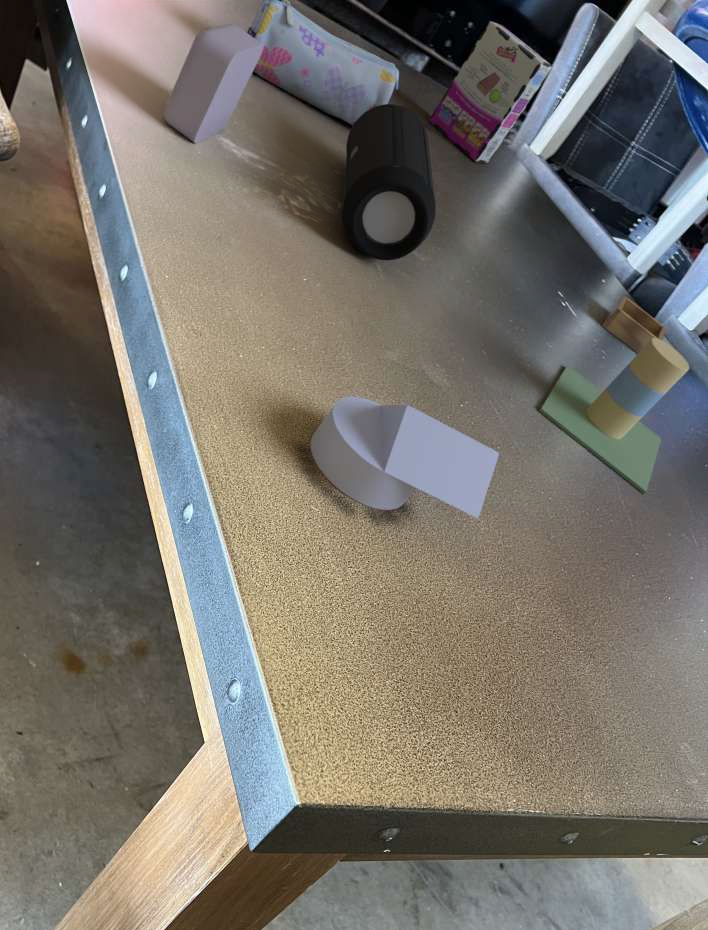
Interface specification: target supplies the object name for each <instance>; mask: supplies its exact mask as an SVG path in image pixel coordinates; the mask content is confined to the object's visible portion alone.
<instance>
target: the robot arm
mask: <svg viewBox="0 0 708 930" xmlns="http://www.w3.org/2000/svg"><path fill="white" fill-rule="evenodd" d="M706 201H707V202H708V195H707V196H706ZM700 235H701V236H703V237H702V238H701V240H700V241H701V243H703V244H704V245H708V222H706V224H705V225H704V226H703V227H702V229H701V231H700Z"/></svg>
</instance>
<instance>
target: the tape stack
mask: <svg viewBox="0 0 708 930" xmlns="http://www.w3.org/2000/svg"><path fill="white" fill-rule="evenodd" d="M689 370H690V365H689V363H688V361H687V359H685V357H684V356H683V355H682V354H681V353H680V352H679V351H678V350H677V349H676V348H674V347H673V346H672V345H670V343H668V342H666V341H664V340H663V339H662V340H660V339H657V338H652V339H651V340H650V341H649V342H648V343H647V344H646V345H645V347H644V348H643V349H642V350H641V351H640V352H639V353H638V354H637V353H636V355H635V356H634V357H633V358H632V360H630V362H629V363H628V364H627V365H626V366H624V368H623V369H622V370H621V371H620V372H619V374H618V375H616V376H615V378H614V379H613V380H612V381H611V382H610V383H609V384H608V386H607V387H606V388H605V389H604V390H603V391H602V393H601V394H600V395H599V396H598V397H597V399H596V400H595V401H594V402H593V403H592V404H591V405H590V406H589V407H588V408H587V410H586V413H587V416H588V417H589V419H590V420H591V422H592V423H593V424H594V425H595V426H596V427H597V428H598V429H599V430H600V431H602V432H603V433H604V434H606V435H608V436H609V437H611V438H614V439H621V438H622V437H623V436H624V435H625V434H626V433H627V432H628V431H629V430H630V429H631V428H632V427H633V426H634V425H635V424H636V423H637V422H638V421H640V420H641V419H643V417H644V416H645V415H646V414H647V413H648V412H649V411H650V410H651V409H652V408H653V407H654V406H655V405H656V404H657V403H658V402H659V401H660V400H661V399H662V398H663V397H664V396H665V395H666V394H667V393H668V392H669V391H670V390H671V389H672V388H673V386H675V384H676V383H677V382H678V381H679V380H680V379H681V378H682V377H683V376H684V375H685V374H686V373H687V372H689Z"/></svg>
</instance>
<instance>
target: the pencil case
mask: <svg viewBox="0 0 708 930" xmlns="http://www.w3.org/2000/svg"><path fill="white" fill-rule="evenodd" d="M246 33H248V34H249V35H250V36H252V37H253V38H255V39H256V40H257V41H259V42H260V43H261V44H263V50H262V53H261V55H260V58H259V60H258V62H257V64H256V66H255V68H254V70H253V72H252V73H255V74H256V75H258V76H259V77H261V78H262V79H263V80H266V81H268V82H269V83H271V84H273V85H275V86H277V87H279V88H280V89H282V90H284V91H286V92H287V93H289V94H291V95H293V96H294V97H296V98H298V99H300V100H301V101H304V102H306V103H308V104H309V105H312V106H313V107H315V108H317V109H318V110H320V111H322V112H324V113H325V114H328V115H330V116H333V117H336V118H338V119H340V120H342V121H344V122H346V123H347V124H349V125H350V126H352V127H353V125H354V123H355V122H356V121H357V119H358V118H359V117H360V116H361V115H363V114H364V113H365V112H366V111H368V110H370V109H372V108H374V107H376V106H380V105H385V104H389V102H390V99H391V98H392V95H393V92H394V89H395V90H397V91H398V89H399V78H400V71H399V69H398V68H397V66H396V65H395V63H393V62H390V61H387V60H385V59H383V58H381V57H380V56H377V55H376V54H374V53H371V52H368V51H367V50H365V49H363V48H361V47H359V46H356V45H355V44H352V43H351V42H348V41H346V40H344V39H341V38H339V37H338V36H335V35H333V34H332V33H330V32H328V31H326V30H325V29H324V28H322V27H321V26H320V25H318V24H316V23H315V22H314V21H312V20H311V19H309V18H308V17H306V16H305V15H304V14H302V13H301V12H300V11H299V10H297V8H296V9H295V7H293V6H292V5H291V2H290V0H262V1H261V4H260V6H259V8H258V9H257V11H256V13H255V16H254V17H253V20H252V23H251V25H250V26H249V27H248V29H247V31H246Z"/></svg>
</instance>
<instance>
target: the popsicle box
mask: <svg viewBox="0 0 708 930" xmlns="http://www.w3.org/2000/svg"><path fill="white" fill-rule="evenodd" d="M553 67H554V66H553V65H552V64H551V63H549V62H548V61H547V60H546V59H545V58H543V57H542V56H541V55H540V54H539V53H537V52H536V51H535V50H533V49H532V48H531V46H528V45H527V44H526V43H525V42H524V41H523V40H521V38H519V37H518V36H517V35H515V34H514V33H512V32H511V31H510V30H509V29H508V28H506V27H505V26H504V25H503V24H500V23H498V22H494V21H491V20H490V21H488V23H487V25H486V27H485V28H484V30H483V31H482V33H481V35H480V36H479V37H478V40H477V41H476V43H475V45H474V46H473V48H472V49H471V51H470V53H469V54H468V56H467V58H466V59H465V61H464V62H463V64H462V66H461V67H460V69H459V70H458V72H457V74H456V75H455V77H454V79H453V80H452V82H451V84H450V85H449V87H448V88H447V90H446V91H445V93H444V95H443V96H442V98H441V100H440V101H439V103H438V105H437V106H436V107H435V109H434V110H433V112H432V114H431V115H430V117H429V119H428V122H429V123H430V124H431V125H433V127H435V129H436V130H438V131H439V132H440V133H441V134H443V136H445V137H446V138H447V139H448V140H449V141H451V143H453V144H454V145H455V146H456V147H457V148H458V149H459V150H460V151H462V152H463V153H464V154H465V155H466V156H467V157H468V158H470V159H471V160H472V161H473V162H475V163H480V164H488V163H489V162H490V161H491V159H492V158H493V156H494V155H495V153H496V152H497V150H498V149H499V147H500V146H501V145H502V143H503V141H505V139H506V137H507V135H508V134H509V133H510V131H511V130H512V128H513V127H514V126H515V124H516V123H517V121H518V120H519V118H520V116H521V115H522V113H523V112H524V111H525V110H526V108H527V106H528V105H529V104H530V102H531V100H532V99H533V98H534V96H535V94H536V93H537V91H538V90H539V89H540V87H541V85H542V84H543V83H544V81H545V80H546V78H547V77H548V75H549V74H550V73H551V71H552V69H553Z"/></svg>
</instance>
